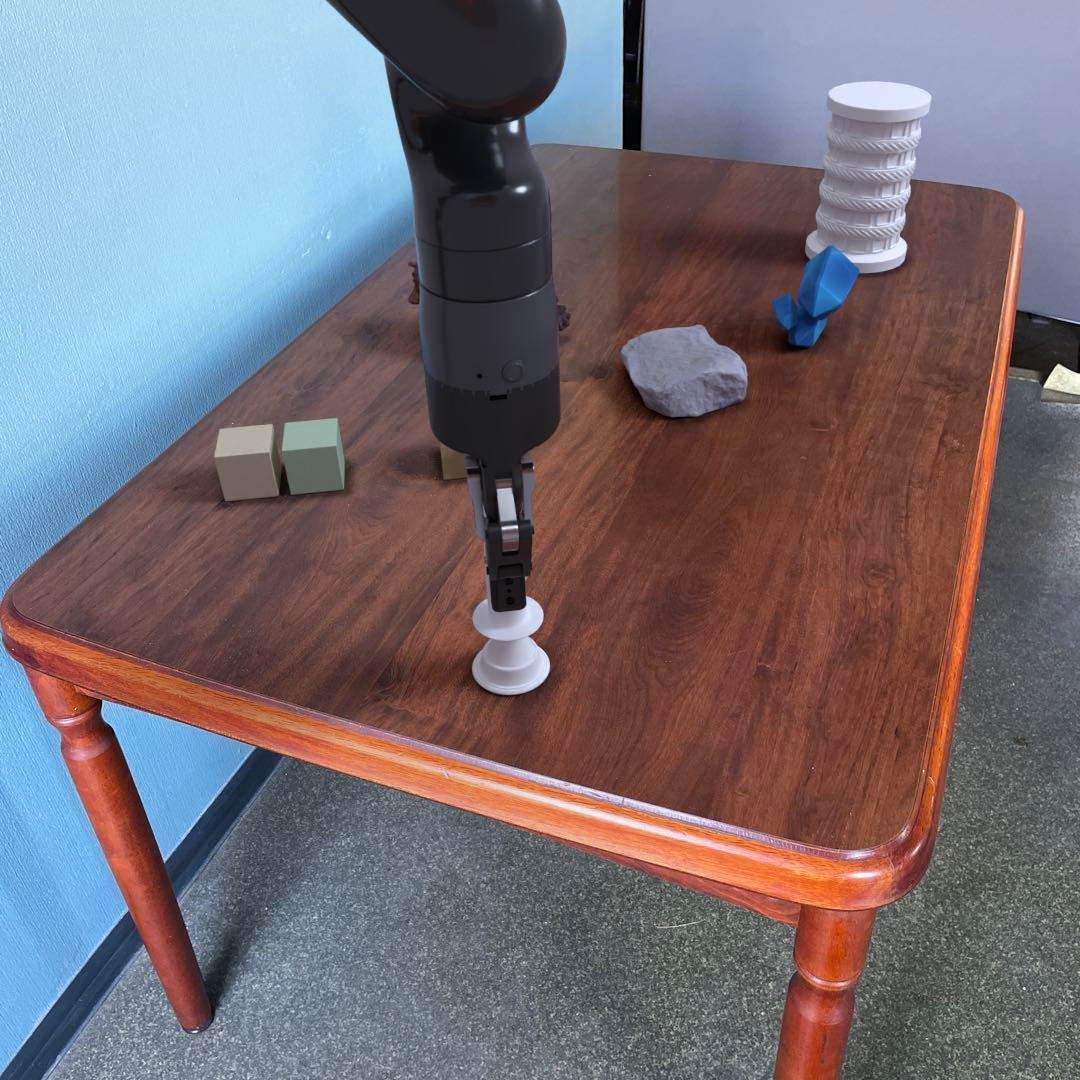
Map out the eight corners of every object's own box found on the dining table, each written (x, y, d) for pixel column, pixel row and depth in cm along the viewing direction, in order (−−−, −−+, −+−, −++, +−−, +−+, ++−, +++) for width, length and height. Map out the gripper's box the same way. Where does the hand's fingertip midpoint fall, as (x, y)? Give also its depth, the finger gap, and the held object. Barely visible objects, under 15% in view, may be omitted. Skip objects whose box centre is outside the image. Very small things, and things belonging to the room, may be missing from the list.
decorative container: (786, 256, 127) (804, 98, 116) (836, 227, 134) (858, 74, 123) (875, 282, 121) (903, 117, 110) (923, 249, 128) (954, 91, 117)
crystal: (764, 293, 104) (795, 222, 111) (761, 361, 111) (790, 291, 117) (841, 304, 101) (868, 231, 108) (833, 374, 108) (860, 301, 115)
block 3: (443, 480, 92) (438, 435, 90) (440, 452, 96) (436, 408, 93) (495, 475, 93) (492, 430, 90) (490, 447, 96) (487, 403, 94)
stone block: (663, 440, 99) (758, 399, 101) (655, 397, 96) (752, 355, 98) (611, 386, 108) (698, 349, 110) (601, 345, 105) (691, 307, 107)
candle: (513, 631, 77) (504, 493, 70) (566, 667, 74) (563, 528, 66) (456, 669, 74) (441, 530, 67) (509, 708, 71) (499, 567, 64)
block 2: (290, 495, 91) (281, 450, 88) (293, 466, 95) (284, 422, 92) (344, 490, 92) (336, 445, 89) (344, 461, 95) (337, 417, 92)
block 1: (225, 501, 91) (213, 457, 88) (230, 472, 94) (219, 428, 92) (278, 496, 91) (269, 451, 88) (282, 467, 95) (272, 423, 92)
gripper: (417, 303, 64) (442, 534, 75) (428, 423, 53) (456, 674, 64) (541, 293, 65) (549, 523, 75) (578, 409, 54) (581, 660, 64)
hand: (506, 591), depth 69 cm, fingers closed on candle, 2 cm apart
